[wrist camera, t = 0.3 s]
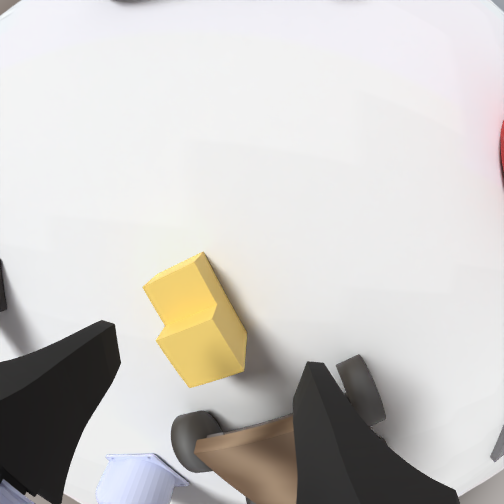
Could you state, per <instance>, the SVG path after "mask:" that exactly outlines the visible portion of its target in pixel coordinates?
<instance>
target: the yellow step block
mask: <svg viewBox="0 0 504 504" xmlns="http://www.w3.org/2000/svg"><path fill="white" fill-rule="evenodd" d="M143 289H144V291H145V293H146V294H147V296H148V298H149V299H150V301H151V303H152V305H153V306H154V308H155V310H156V311H157V313H158V315H159V316H160V318H161V320H162V321H163V323H164V325H165V327H164V329H163V330H162V332H161V333H160V335H159V336H158V338H157V339H156V342H157V343H158V345H159V346H160V348H161V349H162V351H163V352H164V354H165V355H166V357H167V358H168V360H169V361H170V362H171V364H172V365H173V367H174V368H175V369H176V371H177V372H178V374H179V375H180V376H181V378H182V379H183V380H184V382H185V383H186V384H187V386H188V387H189V388H192V387H195V386H199V385H202V384H206V383H209V382H212V381H216V380H219V379H222V378H225V377H228V376H231V375H234V374H237V373H240V372H243V371H244V367H245V355H246V342H247V332H246V330H245V328H244V327H243V325H242V323H241V321H240V319H239V318H238V316H237V314H236V312H235V310H234V309H233V307H232V305H231V303H230V301H229V299H228V298H227V296H226V294H225V292H224V290H223V288H222V286H221V284H220V283H219V281H218V279H217V277H216V275H215V273H214V271H213V269H212V267H211V265H210V264H209V262H208V260H207V258H206V256H205V254H204V252H201V253H199V254H197V255H195V256H193V257H191V258H189V259H187V260H185V261H183V262H181V263H179V264H177V265H175V266H173V267H171V268H169V269H167V270H165V271H163V272H161V273H159V274H157V275H156V276H155V277H153V278H152V279H151V280H150V281H149V282H148V283H147V284H145V285H144V286H143Z"/></svg>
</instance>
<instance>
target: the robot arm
mask: <svg viewBox="0 0 504 504" xmlns="http://www.w3.org/2000/svg"><path fill="white" fill-rule="evenodd" d="M120 364H121V360H120V354H119V349H118V343H117V336H116V329H115V324H113V323H110V322H107V321H103V320H101V321H99V322H96V323H94V324H92V325H90V326H88V327H86V328H84V329H82V330H80V331H78V332H76V333H74V334H72V335H70V336H68V337H66V338H64V339H62V340H60V341H58V342H56V343H54V344H51V345H49V346H47V347H45V348H42V349H40V350H38V351H35V352H33V353H30V354H27V355H24V356H21V357H18V358H15V359H12V360H8V361H3V362H0V504H35V503H34V502H32V501H31V500H29V499H28V498H27V497H26V496H24V495H25V494H26V492H28V493H29V494H31V495H32V496H34V497H35V496H36V494H38V495H40V496H41V497H43V498H44V499H46V500H47V501H49V502H50V503H52V504H61V503H62V496H63V491H64V486H65V481H66V478H67V474H68V470H69V467H70V463H71V461H72V458H73V455H74V452H75V449H76V447H77V444H78V442H79V439H80V437H81V435H82V432H83V430H84V428H85V426H86V424H87V423H88V421H89V419H90V418H91V416H92V414H93V413H94V411H95V410H96V408H97V406H98V405H99V403H100V402H101V400H102V398H103V397H104V395H105V394H106V392H107V390H108V389H109V387H110V386H111V384H112V382H113V380H114V378H115V376H116V374H117V371H118V369H119V367H120ZM293 430H294V441H295V451H296V462H297V500H296V504H460V502H459V499H458V496H457V493H456V490H454V489H452V488H450V487H448V486H446V485H444V484H442V483H440V482H437V481H435V480H433V479H432V478H430V477H428V476H427V475H425V474H423V473H422V472H420V471H419V470H417V469H416V468H414V467H413V466H411V465H410V464H409V463H407V462H406V461H405V460H404V459H402V458H401V457H400V456H399V455H397V454H396V453H395V452H394V451H393V450H391V449H390V448H389V447H388V446H387V445H386V444H385V443H384V442H383V441H382V440H381V439H380V438H379V437H378V436H377V435H376V434H375V433H374V432H373V431H372V430H371V429H370V428H369V426H368V425H367V424H366V423H365V422H364V420H363V419H362V418H361V417H360V415H359V414H358V413H357V412H356V410H355V409H354V408H353V406H352V405H351V403H350V402H349V401H348V399H347V398H346V396H345V395H344V393H343V392H342V391H341V389H340V387H339V386H338V384H337V383H336V381H335V380H334V378H333V377H332V375H331V374H330V372H329V370H328V369H327V367H326V366H325V364H324V363H319V362H308V361H307V363H306V366H305V369H304V372H303V374H302V377H301V380H300V382H299V385H298V388H297V390H296V393H295V396H294V399H293ZM106 458H107V459H108V460H109V463H108V465H107V467H106V469H105V471H104V473H103V475H102V477H101V479H100V481H99V484H98V486H97V488H96V499H97V502H98V504H170V500H171V497H172V493H173V489H174V486H189V482H187V481H186V480H185V479H183V478H182V477H181V476H180V475H178V474H177V473H176V472H175V471H173V470H172V469H171V468H170V467H169V466H167V465H166V464H165V463H164V462H163V461H162V460H161V459H159V458H158V457H157V456H156V455H154V454H139V455H106Z"/></svg>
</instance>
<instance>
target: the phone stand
mask: <svg viewBox="0 0 504 504" xmlns="http://www.w3.org/2000/svg"><path fill="white" fill-rule="evenodd" d="M6 309H7V306H6V301H5V295H4V288H3V280H2V272H1V262H0V312H1V311H4V310H6Z"/></svg>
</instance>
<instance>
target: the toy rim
mask: <svg viewBox="0 0 504 504" xmlns="http://www.w3.org/2000/svg"><path fill="white" fill-rule="evenodd" d="M503 455H504V426H503V429H502V431H501V434H500V436H499V438H498V441H497V443H496V445H495V447H494V450H493V452H492V454H491V456H490V457H491V458H492V460H493V461H494V462H496V461H497V460H498V459H499V458H500V457H502V456H503Z"/></svg>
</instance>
